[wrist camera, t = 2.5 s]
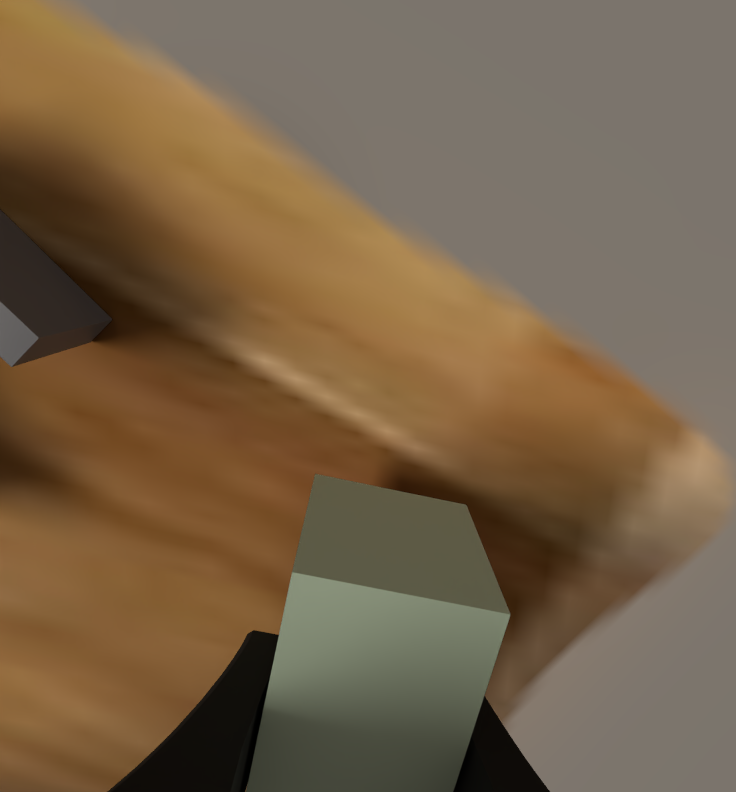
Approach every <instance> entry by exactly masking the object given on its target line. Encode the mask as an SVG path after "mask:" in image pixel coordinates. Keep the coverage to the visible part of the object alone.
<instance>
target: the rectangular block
mask: <svg viewBox="0 0 736 792" xmlns="http://www.w3.org/2000/svg"><path fill="white" fill-rule="evenodd" d="M510 615H511V614H510V612H509V609H508V607H507V604H506V602H505V599H504V597H503V595H502V592H501V590H500V587H499V585H498V582H497V580H496V577H495V575H494V572H493V570H492V567H491V565H490V562H489V560H488V557H487V555H486V552H485V550H484V547H483V545H482V542H481V540H480V538H479V535H478V533H477V530H476V528H475V525H474V523H473V520H472V518H471V515H470V513H469V510H468V508H467V505H465V504H460V503H455V502H450V501H445V500H440V499H436V498H431V497H426V496H421V495H416V494H411V493H406V492H401V491H396V490H392V489H387V488H382V487H377V486H372V485H367V484H362V483H357V482H352V481H347V480H343V479H338V478H333V477H328V476H323V475H318V474H315V477H314V481H313V486H312V490H311V494H310V498H309V503H308V507H307V511H306V515H305V520H304V524H303V528H302V533H301V537H300V541H299V545H298V550H297V554H296V558H295V562H294V567H293V571H292V576H291V580H290V585H289V590H288V595H287V599H286V604H285V609H284V614H283V618H282V623H281V628H280V633H279V637H278V642H277V647H276V652H275V656H274V661H273V666H272V671H271V675H270V680H269V685H268V690H267V695H266V699H265V704H264V709H263V714H262V718H261V723H260V728H259V733H258V737H257V742H256V747H255V752H254V756H253V761H252V766H251V771H250V775H249V780H248V785H247V790H246V792H453V791H454V788H455V785H456V782H457V779H458V776H459V772H460V769H461V766H462V763H463V760H464V757H465V754H466V751H467V748H468V745H469V742H470V738H471V735H472V732H473V729H474V726H475V723H476V720H477V717H478V714H479V711H480V708H481V704H482V701H483V698H484V695H485V692H486V689H487V686H488V683H489V680H490V677H491V674H492V670H493V667H494V664H495V661H496V658H497V655H498V652H499V649H500V646H501V643H502V639H503V636H504V633H505V630H506V627H507V624H508V621H509V618H510Z"/></svg>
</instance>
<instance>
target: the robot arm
mask: <svg viewBox="0 0 736 792" xmlns="http://www.w3.org/2000/svg"><path fill="white" fill-rule="evenodd" d="M278 637H279V635H276V634H270V633H265V632H260V631H255V630H254V631H252V632H250V633H248V634H247V636H246V638H245V640H244V642H243V644H242V645H241V647H240V649H239V650H238V652H237V654H236V655H235V657H234V658H233V660H232V661H231V662H230V664H229V665H228V667H227V668H226V669H225V671H224V672H223V674H222V675H221V676H220V677H219V679H218V680H217V681H216V682H215V684H214V685H213V686H212V687H211V689H210V690H209V691H208V692H207V694H206V695H205V696H204V697H203V699H202V700H201V701H200V702H199V703H198V704H197V706H196V707H195V708H194V709H193V710H192V711H191V712H190V713H189V714H188V716H187V717H186V718H185V719H184V720H183V721H182V722H181V723H180V724H179V725H178V727H177V728H176V729H175V730H174V731H173V732H172V733H171V734H170V735H169V736H168V737H167V738H166V739H165V740H164V741H163V742H162V743H161V744H160V745H159V746H158V747H157V748H156V749H155V750H154V751H153V752H152V753H151V754H150V755H149V756H148V757H147V758H145V759H144V760H143V761H142V762H141V763H140V764H139V765H138V766H137V767H136V768H135V769H133V770H132V771H131V772H130V773H129V774H128V775H127V776H125V777H124V778H123V779H122V780H121V781H120V782H118V783H117V784H116V785H115V786H114V787H113V788H111V789H110V790H109V791H108V792H245V790H246V787H247V784H248V780H249V775H250V771H251V766H252V761H253V756H254V752H255V747H256V742H257V737H258V733H259V728H260V723H261V718H262V714H263V709H264V704H265V699H266V695H267V690H268V685H269V680H270V675H271V671H272V666H273V661H274V656H275V652H276V647H277V642H278ZM453 792H550V791H549V790H548V789H547V787H546V786H545V785H544V783H543V782H542V781H541V779H540V778H539V777H538V775H537V774H536V773H535V771H534V770H533V768H532V767H531V766H530V764H529V763H528V761H527V760H526V759H525V757H524V756H523V754H522V753H521V751H520V750H519V748H518V747H517V745H516V744H515V743H514V741H513V739H512V738H511V737H510V735H509V734H508V732H507V730H506V729H505V727H504V726H503V724H502V723H501V721H500V720H499V718H498V716H497V715H496V713H495V712H494V710H493V709H492V707H491V705H490V704H489V702H488V701H487V699H486V697H485V696H484V698H483V701H482V704H481V708H480V711H479V714H478V717H477V720H476V723H475V726H474V729H473V732H472V735H471V738H470V742H469V745H468V748H467V751H466V754H465V757H464V760H463V763H462V766H461V769H460V772H459V776H458V779H457V782H456V785H455V788H454V791H453Z"/></svg>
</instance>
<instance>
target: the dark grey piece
mask: <svg viewBox="0 0 736 792" xmlns="http://www.w3.org/2000/svg"><path fill="white" fill-rule="evenodd" d="M112 320H113V319H112V318H111V317H110V316H109V315H108V314H107V313H106V312H104V311H103V310H102V309H101V308H100V307H99V306H98V305H97V304H96V303H95V302H94V301H93V300H92V299H91V298H90V297H89V296H88V295H87V294H86V293H85V292H84V291H83V290H82V289H81V288H80V287H79V286H78V285H77V284H76V283H75V282H74V281H73V280H72V279H71V278H70V277H69V276H68V275H67V274H66V273H65V272H64V271H63V270H62V269H61V268H60V267H59V266H58V265H56V264H55V263H54V262H53V261H52V260H51V259H50V258H49V257H48V256H47V255H46V254H45V253H44V252H43V251H42V250H41V249H40V248H39V247H38V246H37V245H36V244H35V243H34V242H33V241H32V240H31V239H30V238H29V237H28V236H27V235H26V234H25V233H24V232H23V231H22V230H21V229H20V228H19V227H18V226H17V225H16V224H15V223H14V222H13V221H12V220H11V219H10V218H8V217H7V216H6V215H5V214H4V213H3V212H2V211H1V210H0V357H1V358H2V359H3V360H5V361H6V362H7V363H8V364H9V365H10V366H11V367H13V366H16V365H19V364H22V363H26V362H29V361H32V360H35V359H38V358H41V357H45V356H48V355H51V354H54V353H57V352H61V351H64V350H67V349H70V348H73V347H77V346H80V345H83V344H86V343H89V342H91V341H92V340H93V339H94V338H95V337H96V336H97V335H98V334H99V333H100V332H101V331H102V330H103V329H104V328H105V327H106V326H107V325H108V324H109V323H110V322H111V321H112Z"/></svg>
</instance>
